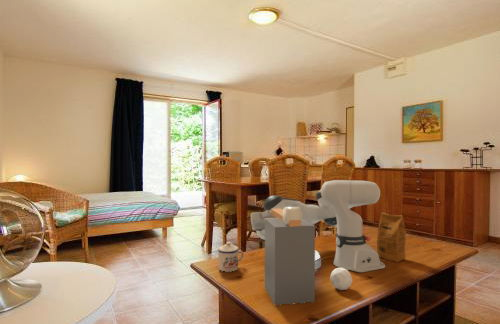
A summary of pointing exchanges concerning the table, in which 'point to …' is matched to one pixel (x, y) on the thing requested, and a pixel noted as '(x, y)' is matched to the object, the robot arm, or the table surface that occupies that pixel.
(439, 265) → the table surface
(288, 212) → the wooden handled brush
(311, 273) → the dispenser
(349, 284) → the geometric ball
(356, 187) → the robot arm
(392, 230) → the coffee package
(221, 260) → the teacup with lid
